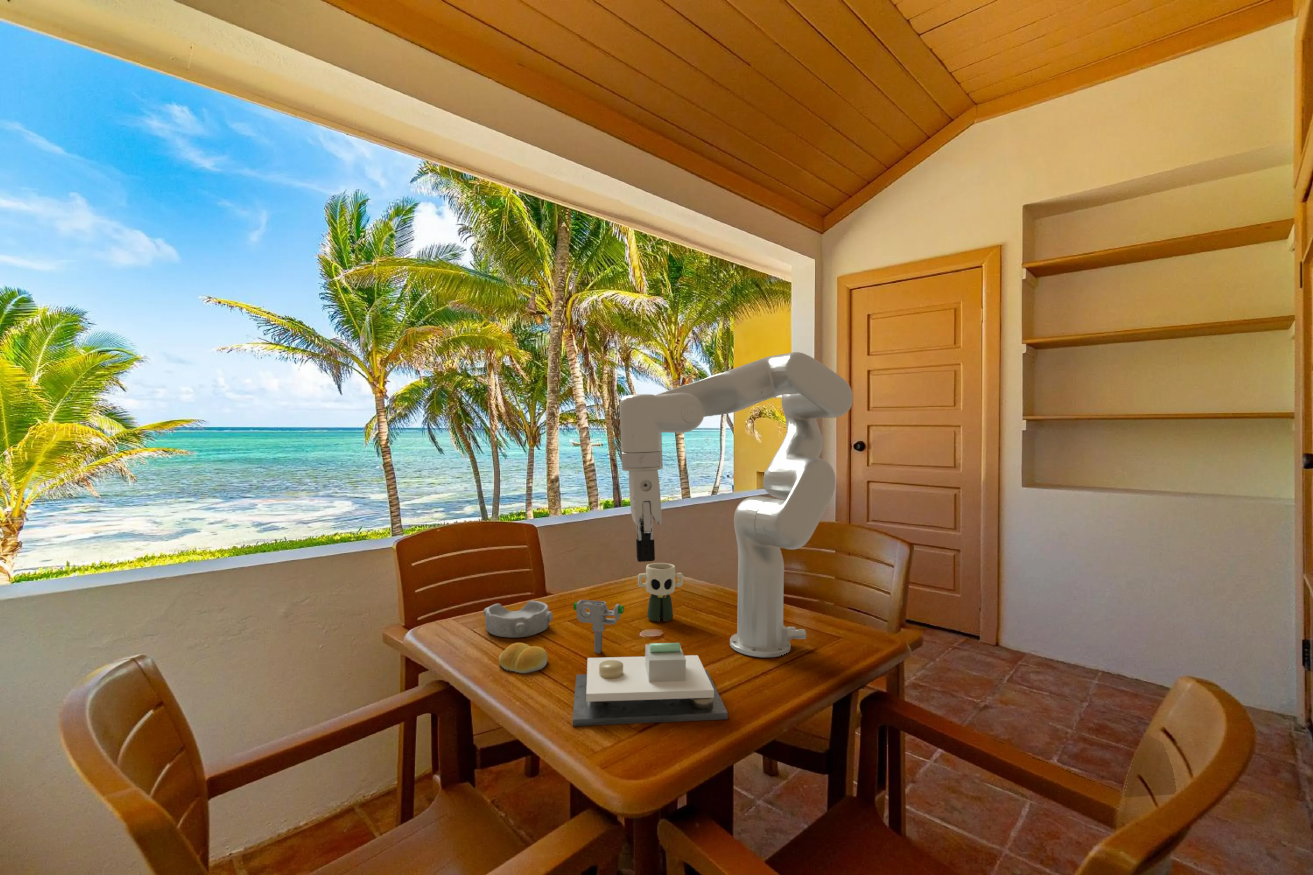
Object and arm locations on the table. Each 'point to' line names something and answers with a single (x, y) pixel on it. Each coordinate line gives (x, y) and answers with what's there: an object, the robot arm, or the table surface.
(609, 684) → the levelling plate
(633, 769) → the table surface
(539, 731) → the table surface
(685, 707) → the dark grey rectangular slab
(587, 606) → the mechanical component
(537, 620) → the dish
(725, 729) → the table surface
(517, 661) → the bread roll
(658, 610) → the character mug
